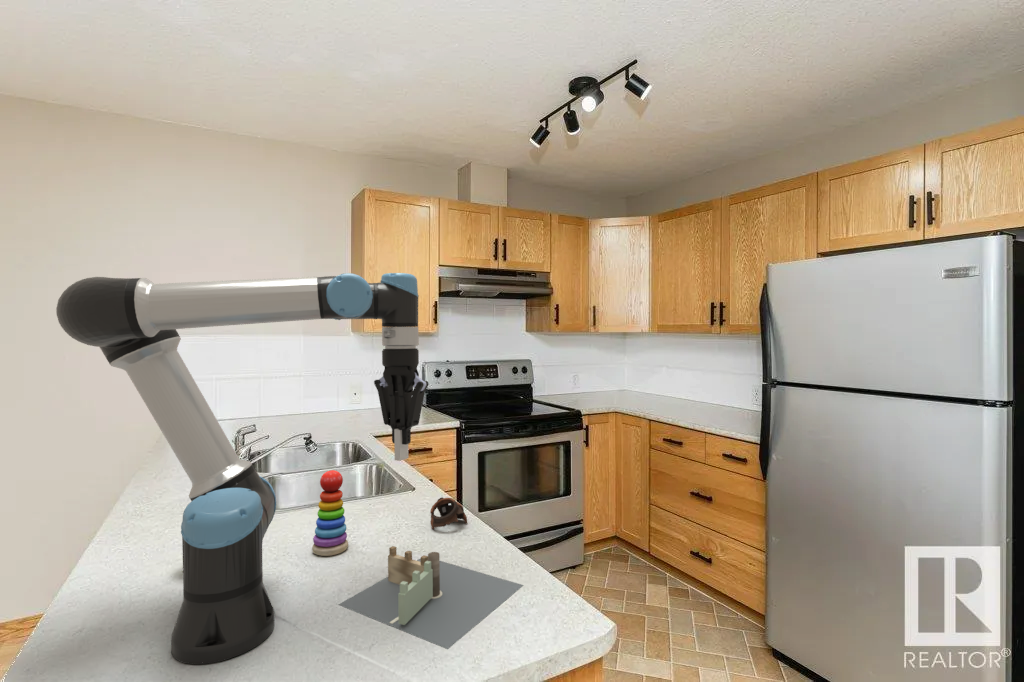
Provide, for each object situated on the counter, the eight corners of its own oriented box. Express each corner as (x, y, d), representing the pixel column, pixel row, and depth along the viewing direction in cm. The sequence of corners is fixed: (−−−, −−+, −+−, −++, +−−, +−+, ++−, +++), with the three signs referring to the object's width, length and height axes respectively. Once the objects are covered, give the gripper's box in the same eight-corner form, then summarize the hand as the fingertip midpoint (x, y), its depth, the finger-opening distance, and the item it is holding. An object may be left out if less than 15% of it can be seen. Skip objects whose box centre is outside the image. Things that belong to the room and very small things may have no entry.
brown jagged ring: (475, 528, 135) (466, 506, 131) (445, 549, 131) (434, 527, 127) (456, 504, 144) (446, 483, 141) (427, 523, 141) (416, 502, 137)
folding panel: (427, 595, 97) (426, 559, 97) (432, 596, 97) (432, 560, 97) (398, 623, 88) (398, 584, 88) (404, 625, 87) (404, 585, 87)
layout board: (447, 652, 81) (447, 648, 81) (338, 607, 95) (338, 603, 95) (523, 587, 102) (523, 584, 102) (424, 558, 115) (424, 555, 115)
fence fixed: (442, 593, 99) (441, 553, 99) (434, 598, 97) (434, 557, 97) (394, 577, 105) (393, 539, 105) (386, 581, 104) (386, 543, 103)
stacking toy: (336, 558, 116) (336, 476, 115) (305, 556, 117) (304, 474, 117) (354, 544, 123) (353, 467, 123) (324, 542, 125) (323, 465, 125)
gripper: (364, 347, 107) (365, 459, 107) (413, 348, 101) (414, 466, 101) (388, 346, 114) (389, 452, 114) (436, 347, 108) (437, 458, 108)
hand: (401, 459), depth 108 cm, fingers closed
